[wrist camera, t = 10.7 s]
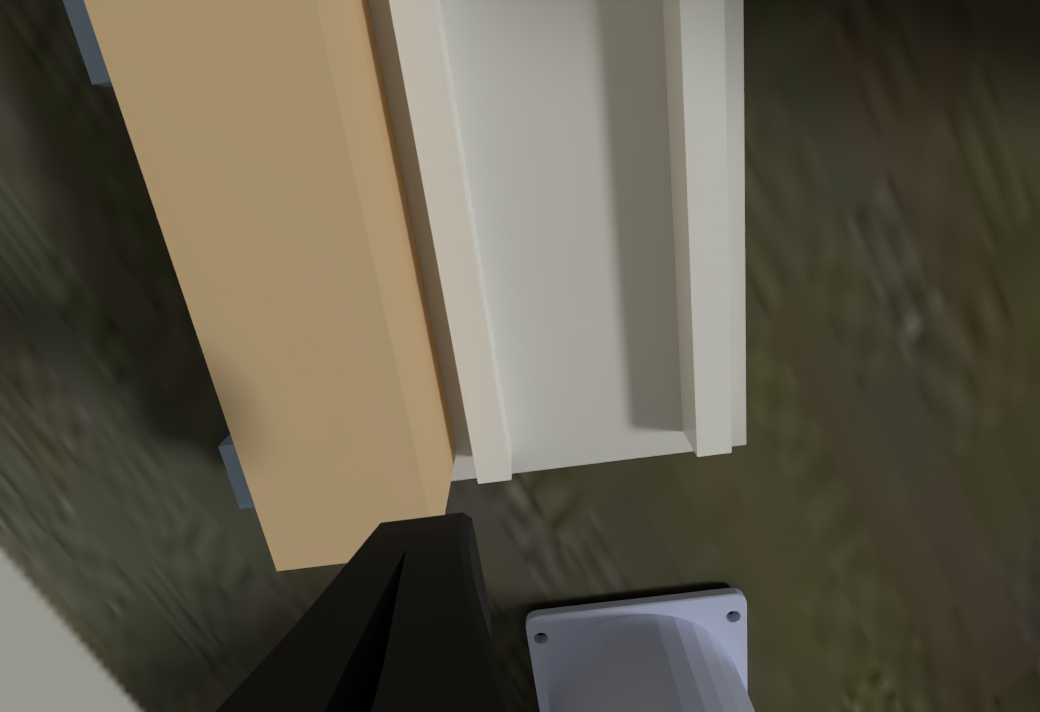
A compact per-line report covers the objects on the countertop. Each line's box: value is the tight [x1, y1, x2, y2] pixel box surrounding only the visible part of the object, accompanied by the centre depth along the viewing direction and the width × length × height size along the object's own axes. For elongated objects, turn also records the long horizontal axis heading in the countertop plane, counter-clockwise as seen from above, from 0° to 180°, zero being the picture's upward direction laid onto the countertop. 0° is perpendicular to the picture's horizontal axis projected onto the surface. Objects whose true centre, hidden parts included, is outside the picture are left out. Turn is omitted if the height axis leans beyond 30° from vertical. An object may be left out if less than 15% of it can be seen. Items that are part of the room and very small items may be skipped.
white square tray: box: [63, 0, 746, 509], centre depth 16 cm, size 16×16×3 cm
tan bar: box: [84, 0, 456, 571], centre depth 15 cm, size 14×4×5 cm, turn 8°
